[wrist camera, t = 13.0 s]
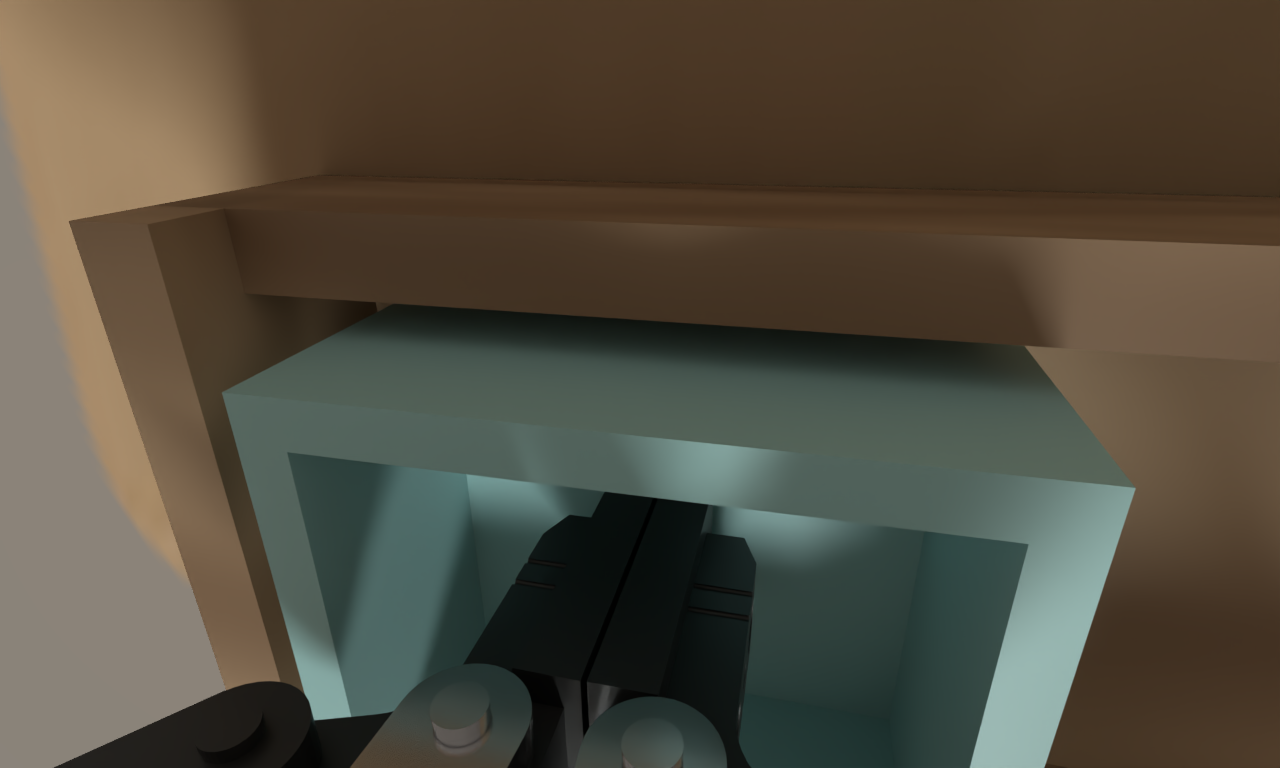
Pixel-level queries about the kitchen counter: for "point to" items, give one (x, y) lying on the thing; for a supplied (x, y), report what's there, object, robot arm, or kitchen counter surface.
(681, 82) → the kitchen counter surface
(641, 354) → the box
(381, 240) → the bay
